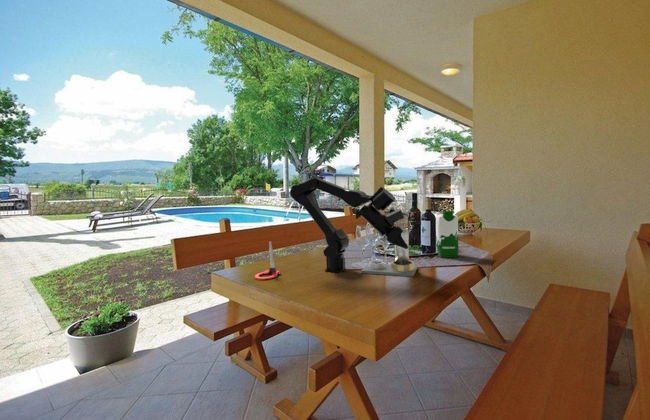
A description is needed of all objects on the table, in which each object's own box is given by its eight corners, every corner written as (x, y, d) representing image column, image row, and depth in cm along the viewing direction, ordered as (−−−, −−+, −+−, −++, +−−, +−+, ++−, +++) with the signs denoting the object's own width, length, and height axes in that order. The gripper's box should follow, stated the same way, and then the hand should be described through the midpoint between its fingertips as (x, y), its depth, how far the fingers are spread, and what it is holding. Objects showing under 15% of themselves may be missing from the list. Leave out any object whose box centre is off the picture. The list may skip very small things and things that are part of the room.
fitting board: (361, 273, 122) (360, 270, 122) (368, 265, 132) (368, 263, 132) (413, 276, 115) (412, 273, 115) (416, 268, 125) (416, 266, 125)
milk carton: (439, 258, 140) (438, 211, 138) (435, 253, 149) (434, 210, 147) (460, 257, 139) (460, 211, 137) (455, 253, 148) (454, 209, 146)
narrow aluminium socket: (367, 268, 124) (367, 263, 124) (371, 265, 129) (370, 260, 129) (381, 269, 122) (381, 264, 121) (385, 266, 127) (384, 261, 127)
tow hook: (268, 282, 117) (283, 274, 125) (264, 247, 115) (280, 241, 123) (250, 280, 121) (265, 272, 129) (246, 246, 119) (262, 240, 127)
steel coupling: (394, 265, 120) (393, 230, 119) (396, 262, 125) (395, 228, 124) (407, 266, 118) (407, 230, 117) (409, 263, 123) (409, 228, 122)
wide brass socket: (389, 271, 119) (389, 264, 119) (393, 265, 127) (393, 259, 127) (412, 272, 116) (412, 265, 116) (415, 267, 124) (415, 260, 123)
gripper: (396, 203, 110) (429, 234, 111) (385, 200, 129) (413, 227, 130) (373, 227, 111) (406, 258, 112) (365, 221, 129) (393, 247, 130)
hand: (405, 246), depth 121 cm, fingers closed on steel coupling, 5 cm apart
